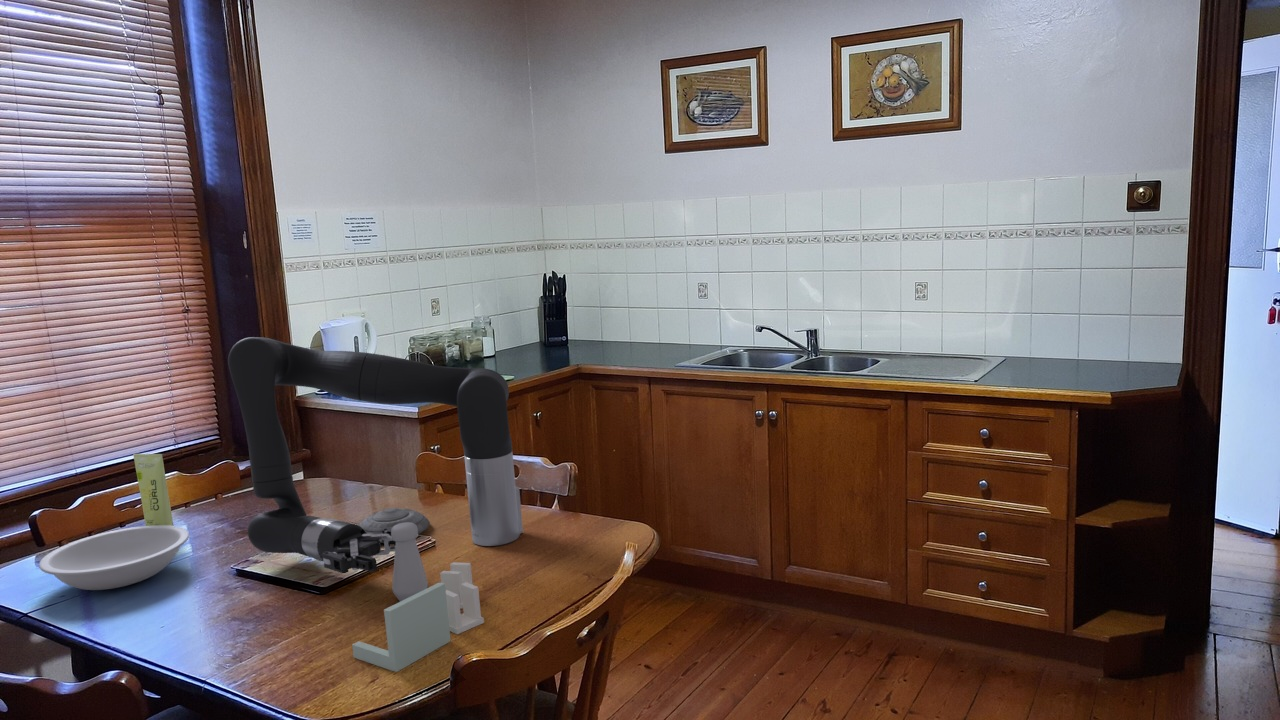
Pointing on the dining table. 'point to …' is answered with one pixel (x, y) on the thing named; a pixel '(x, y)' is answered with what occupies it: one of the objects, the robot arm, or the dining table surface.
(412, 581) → the salt shaker
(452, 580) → the clip
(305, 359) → the robot arm
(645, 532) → the dining table surface
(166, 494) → the tube
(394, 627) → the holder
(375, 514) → the flying saucer
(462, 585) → the clip
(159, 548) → the soup bowl
